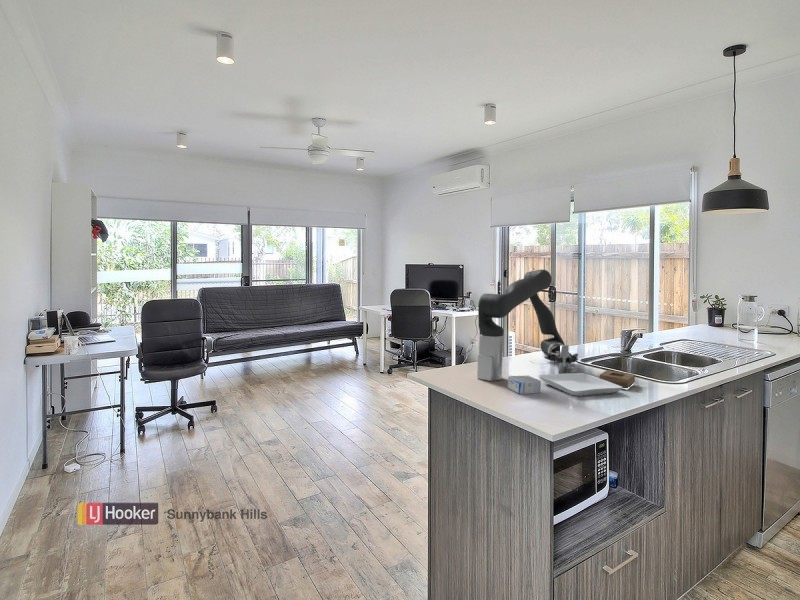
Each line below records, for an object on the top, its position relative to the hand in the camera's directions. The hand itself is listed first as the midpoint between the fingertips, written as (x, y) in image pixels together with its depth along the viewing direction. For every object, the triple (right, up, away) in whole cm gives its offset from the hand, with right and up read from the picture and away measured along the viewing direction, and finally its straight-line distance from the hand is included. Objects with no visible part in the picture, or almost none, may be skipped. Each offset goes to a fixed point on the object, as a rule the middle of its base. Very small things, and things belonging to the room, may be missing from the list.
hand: (565, 360), depth 177 cm
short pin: (+4, -6, +5) cm, 9 cm away
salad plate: (+1, -9, -12) cm, 15 cm away
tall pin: (0, -7, +3) cm, 8 cm away
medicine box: (-16, -6, -15) cm, 23 cm away
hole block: (+17, -8, -6) cm, 20 cm away
